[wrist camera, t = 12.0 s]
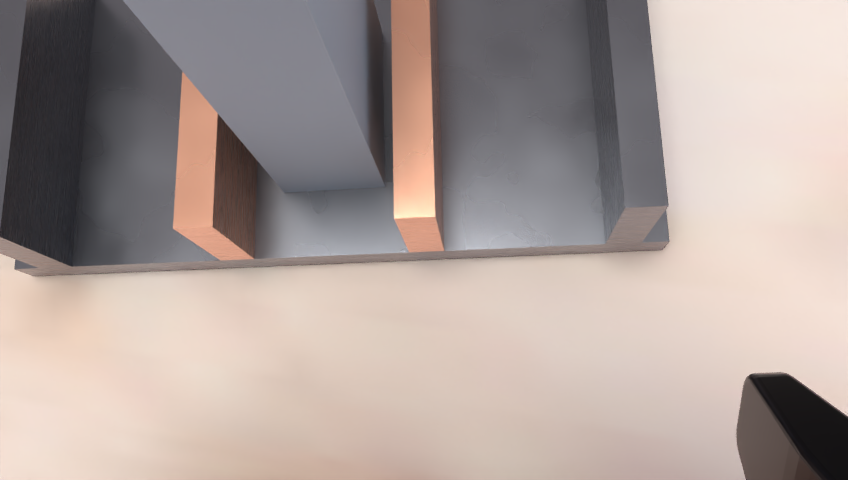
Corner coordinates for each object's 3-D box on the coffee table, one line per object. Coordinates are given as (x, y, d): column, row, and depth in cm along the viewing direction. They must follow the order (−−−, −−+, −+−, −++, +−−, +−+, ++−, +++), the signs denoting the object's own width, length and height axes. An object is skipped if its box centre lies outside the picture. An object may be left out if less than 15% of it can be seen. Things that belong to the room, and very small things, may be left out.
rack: (661, 250, 23) (700, 204, 19) (33, 276, 24) (-67, 239, 20) (634, -25, 25) (663, -123, 21) (60, 14, 27) (-24, -70, 22)
